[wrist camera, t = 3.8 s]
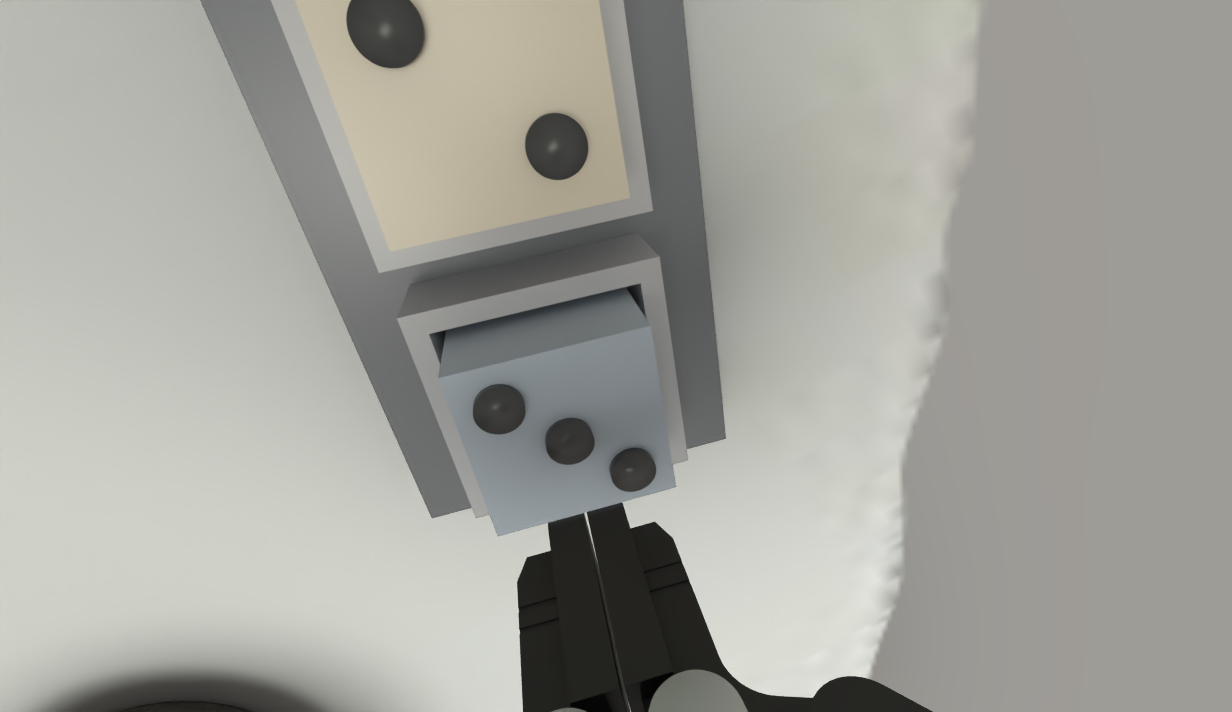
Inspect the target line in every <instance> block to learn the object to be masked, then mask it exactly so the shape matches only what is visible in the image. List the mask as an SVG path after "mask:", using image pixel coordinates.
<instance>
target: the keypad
mask: <svg viewBox="0 0 1232 712" xmlns="http://www.w3.org/2000/svg"><path fill="white" fill-rule="evenodd" d="M200 1H201V3H202V5H203V7H204V10H205V12H206V14H207V16H208V19H209V21H210V23H211V25H212V28H213V30H214V32H215V34H216V37H217V39H218V41H219V43H220V46H221V48H222V50H223V52H224V54H225V57H226V59H227V61H228V63H229V66H230V68H231V70H232V72H233V75H234V77H235V79H236V81H237V84H238V86H239V88H240V90H241V92H242V95H243V97H244V99H245V101H246V104H247V106H248V108H249V110H250V113H251V115H252V117H253V119H254V122H255V124H256V126H257V128H258V130H259V133H260V135H261V137H262V139H263V142H264V144H265V146H266V148H267V151H268V153H269V155H270V157H271V160H272V162H273V164H274V166H275V169H276V171H277V173H278V175H279V177H280V180H281V182H282V184H283V186H284V189H285V191H286V193H287V195H288V198H289V200H290V202H291V204H292V207H293V209H294V211H295V213H296V215H297V218H298V220H299V222H300V224H301V227H302V229H303V231H304V233H305V236H306V238H307V240H308V242H309V245H310V247H311V249H312V251H313V253H314V256H315V258H316V260H317V262H318V265H319V267H320V269H321V271H322V274H323V276H324V278H325V280H326V283H327V285H328V287H329V289H330V291H331V294H332V296H333V298H334V300H335V303H336V305H337V307H338V309H339V312H340V314H341V316H342V318H343V321H344V323H345V325H346V327H347V330H348V332H349V334H350V336H351V338H352V341H353V343H354V345H355V347H356V350H357V352H358V354H359V356H360V359H361V361H362V363H363V365H364V368H365V370H366V372H367V374H368V376H369V379H370V381H371V383H372V385H373V388H374V390H375V392H376V394H377V397H378V399H379V401H380V403H381V406H382V408H383V410H384V412H385V414H386V417H387V419H388V421H389V423H390V426H391V428H392V430H393V432H394V435H395V437H396V439H397V441H398V444H399V446H400V448H401V450H402V452H403V455H404V457H405V459H406V461H407V464H408V466H409V468H410V470H411V473H412V475H413V477H414V479H415V482H416V484H417V486H418V488H419V491H420V493H421V495H422V497H423V499H424V502H425V504H426V506H427V508H428V511H429V513H430V515H431V517H432V518H435V517H439V516H442V515H446V514H450V513H454V512H457V511H461V510H465V509H468V508H472V509H473V512H474V514H475V517H476V518H479V517H483V516H486V515H490V514H489V512H488V509H487V506H486V504H485V501H484V498H483V496H482V493H481V490H480V488H479V485H478V483H477V480H476V477H475V475H474V472H473V469H472V467H471V464H470V461H469V459H468V456H467V454H466V451H465V448H464V446H463V443H462V440H461V438H460V435H459V432H458V430H457V427H456V424H455V422H454V419H453V417H452V414H451V411H450V409H449V406H448V403H447V401H446V398H445V395H444V393H443V390H442V388H441V385H440V382H439V380H438V376H439V370H440V364H441V358H442V352H443V347H444V341H445V335H446V330H448V329H452V328H456V327H460V326H465V325H469V324H473V323H477V322H481V321H485V320H490V319H494V318H498V317H502V316H506V315H510V314H515V313H519V312H523V311H527V310H531V309H535V308H540V307H544V306H548V305H552V304H556V303H560V302H565V301H569V300H573V299H577V298H581V297H585V296H590V295H594V294H598V293H602V292H606V291H611V290H615V289H619V288H623V287H626V288H627V290H628V291H629V293H630V295H631V296H632V298H633V299H634V301H635V302H636V304H637V305H638V307H639V309H640V310H641V312H642V313H643V315H644V316H645V318H646V319H647V321H648V323H649V324H650V326H651V332H652V338H653V344H654V351H655V357H656V363H657V370H658V376H659V382H660V388H661V395H662V401H663V407H664V413H665V420H666V426H667V432H668V439H669V445H670V451H671V457H672V464H676V463H680V462H684V461H687V460H688V454H687V449H689V448H693V447H697V446H700V445H704V444H708V443H711V442H715V441H719V440H722V439H726V435H725V425H724V415H723V404H722V394H721V384H720V374H719V364H718V354H717V344H716V333H715V323H714V313H713V303H712V293H711V283H710V272H709V262H708V252H707V242H706V232H705V222H704V212H703V201H702V191H701V181H700V171H699V161H698V151H697V141H696V130H695V120H694V110H693V100H692V90H691V80H690V70H689V59H688V49H687V39H686V29H685V19H684V9H683V0H599V5H600V12H601V18H602V24H603V30H604V37H605V43H606V49H607V56H608V62H609V68H610V74H611V81H612V87H613V93H614V99H615V106H616V112H617V118H618V125H619V131H620V137H621V143H622V150H623V156H624V162H625V169H626V175H627V181H628V187H629V194H630V198H628V199H623V200H619V201H614V202H610V203H605V204H601V205H596V206H592V207H588V208H583V209H579V210H574V211H570V212H565V213H561V214H556V215H552V216H547V217H543V218H538V219H534V220H529V221H525V222H521V223H516V224H512V225H507V226H503V227H498V228H494V229H489V230H485V231H480V232H476V233H471V234H467V235H463V236H458V237H454V238H449V239H445V240H440V241H436V242H431V243H427V244H422V245H418V246H413V247H409V248H405V249H400V250H396V251H391V252H390V250H389V248H388V245H387V242H386V240H385V237H384V234H383V232H382V229H381V227H380V224H379V221H378V219H377V216H376V213H375V211H374V208H373V205H372V203H371V200H370V198H369V195H368V192H367V190H366V187H365V184H364V182H363V179H362V176H361V174H360V171H359V168H358V166H357V163H356V161H355V158H354V155H353V153H352V150H351V147H350V145H349V142H348V139H347V137H346V134H345V132H344V129H343V126H342V124H341V121H340V118H339V116H338V113H337V110H336V108H335V105H334V103H333V100H332V97H331V95H330V92H329V89H328V87H327V84H326V81H325V79H324V76H323V73H322V71H321V68H320V66H319V63H318V60H317V58H316V55H315V52H314V50H313V47H312V44H311V42H310V39H309V37H308V34H307V31H306V29H305V26H304V23H303V21H302V18H301V15H300V13H299V10H298V8H297V5H296V2H295V0H200Z"/></svg>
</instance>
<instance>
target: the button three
mask: <svg viewBox="0 0 1232 712" xmlns="http://www.w3.org/2000/svg"><path fill="white" fill-rule="evenodd" d="M438 380H439V382H440V385H441V388H442V390H443V393H444V395H445V398H446V401H447V403H448V406H449V409H450V411H451V414H452V417H453V419H454V422H455V424H456V427H457V430H458V432H459V435H460V438H461V440H462V443H463V446H464V448H465V451H466V454H467V456H468V459H469V461H470V464H471V467H472V469H473V472H474V475H475V477H476V480H477V483H478V485H479V488H480V490H481V493H482V496H483V498H484V501H485V504H486V506H487V509H488V512H489V514H490V517H491V520H492V522H493V525H494V527H495V530H496V533H497V535H498V536H501V535H505V534H508V533H512V532H516V531H519V530H523V529H526V528H530V527H534V526H537V525H541V524H544V523H548V522H552V521H555V520H559V519H562V518H566V517H570V516H573V515H577V514H580V513H584V512H588V511H591V510H595V509H598V508H602V507H606V506H609V505H613V504H616V503H620V502H624V501H627V500H631V499H634V498H638V497H642V496H645V495H649V494H652V493H656V492H660V491H663V490H667V489H670V488H674V487H676V483H675V476H674V470H673V464H672V457H671V451H670V445H669V439H668V432H667V426H666V420H665V413H664V407H663V401H662V395H661V388H660V382H659V376H658V370H657V363H656V357H655V351H654V344H653V338H652V332H651V326H650V324H649V323H648V321H647V319H646V318H645V316H644V315H643V313H642V312H641V310H640V309H639V307H638V305H637V304H636V302H635V301H634V299H633V298H632V296H631V295H630V293H629V291H628V290H627V288H626V287H623V288H619V289H615V290H611V291H606V292H602V293H598V294H594V295H590V296H585V297H581V298H577V299H573V300H569V301H565V302H560V303H556V304H552V305H548V306H544V307H540V308H535V309H531V310H527V311H523V312H519V313H515V314H510V315H506V316H502V317H498V318H494V319H490V320H485V321H481V322H477V323H473V324H469V325H465V326H460V327H456V328H452V329H448V330H446V335H445V341H444V347H443V352H442V358H441V364H440V370H439V376H438Z"/></svg>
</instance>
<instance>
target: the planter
mask: <svg viewBox="0 0 1232 712" xmlns="http://www.w3.org/2000/svg"><path fill="white" fill-rule="evenodd" d="M120 712H250V711H247V710H243V709H240V708H236V707H231V706H227V705H221V704H213V703H204V702H168V703H159V704H151V705H145V706H140V707H135V708H131V709H127V710H123V711H120Z"/></svg>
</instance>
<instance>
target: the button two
mask: <svg viewBox="0 0 1232 712" xmlns="http://www.w3.org/2000/svg"><path fill="white" fill-rule="evenodd" d="M295 2H296V5H297V8H298V10H299V13H300V15H301V18H302V21H303V23H304V26H305V29H306V31H307V34H308V37H309V39H310V42H311V44H312V47H313V50H314V52H315V55H316V58H317V60H318V63H319V66H320V68H321V71H322V73H323V76H324V79H325V81H326V84H327V87H328V89H329V92H330V95H331V97H332V100H333V103H334V105H335V108H336V110H337V113H338V116H339V118H340V121H341V124H342V126H343V129H344V132H345V134H346V137H347V139H348V142H349V145H350V147H351V150H352V153H353V155H354V158H355V161H356V163H357V166H358V168H359V171H360V174H361V176H362V179H363V182H364V184H365V187H366V190H367V192H368V195H369V198H370V200H371V203H372V205H373V208H374V211H375V213H376V216H377V219H378V221H379V224H380V227H381V229H382V232H383V234H384V237H385V240H386V242H387V245H388V248H389V250H390V252H391V251H396V250H400V249H405V248H409V247H413V246H418V245H422V244H427V243H431V242H436V241H440V240H445V239H449V238H454V237H458V236H463V235H467V234H471V233H476V232H480V231H485V230H489V229H494V228H498V227H503V226H507V225H512V224H516V223H521V222H525V221H529V220H534V219H538V218H543V217H547V216H552V215H556V214H561V213H565V212H570V211H574V210H579V209H583V208H588V207H592V206H596V205H601V204H605V203H610V202H614V201H619V200H623V199H628V198H630V194H629V187H628V181H627V175H626V169H625V162H624V156H623V150H622V143H621V137H620V131H619V125H618V118H617V112H616V106H615V99H614V93H613V87H612V81H611V74H610V68H609V62H608V56H607V49H606V43H605V37H604V30H603V24H602V18H601V12H600V5H599V0H295Z"/></svg>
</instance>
